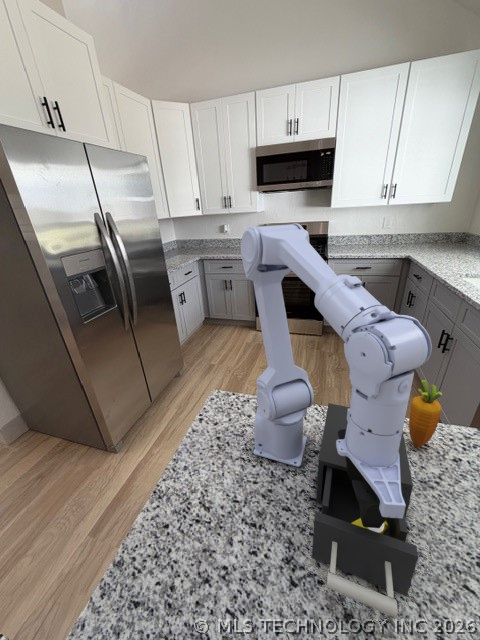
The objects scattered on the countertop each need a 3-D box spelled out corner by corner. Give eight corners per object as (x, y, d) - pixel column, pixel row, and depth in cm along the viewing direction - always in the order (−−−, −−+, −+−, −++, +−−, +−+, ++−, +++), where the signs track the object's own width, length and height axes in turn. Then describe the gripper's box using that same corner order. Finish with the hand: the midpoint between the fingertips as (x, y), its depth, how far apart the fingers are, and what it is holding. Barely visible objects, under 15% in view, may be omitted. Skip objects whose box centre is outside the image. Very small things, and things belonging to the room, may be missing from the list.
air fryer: (402, 532, 41) (413, 485, 37) (315, 503, 46) (318, 459, 42) (392, 456, 53) (400, 416, 50) (325, 440, 58) (328, 402, 55)
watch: (346, 556, 37) (357, 540, 33) (335, 532, 39) (345, 514, 36) (384, 542, 38) (399, 525, 35) (372, 520, 40) (384, 502, 37)
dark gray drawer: (413, 653, 29) (427, 612, 26) (305, 602, 33) (307, 562, 31) (395, 497, 45) (402, 461, 42) (323, 476, 49) (325, 442, 46)
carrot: (436, 458, 52) (453, 393, 47) (407, 455, 53) (421, 390, 48) (425, 439, 57) (440, 377, 52) (399, 436, 58) (411, 375, 53)
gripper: (328, 382, 39) (323, 454, 44) (357, 468, 26) (345, 559, 30) (380, 383, 38) (369, 456, 43) (438, 473, 25) (412, 566, 30)
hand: (362, 499), depth 37 cm, fingers open, 6 cm apart
